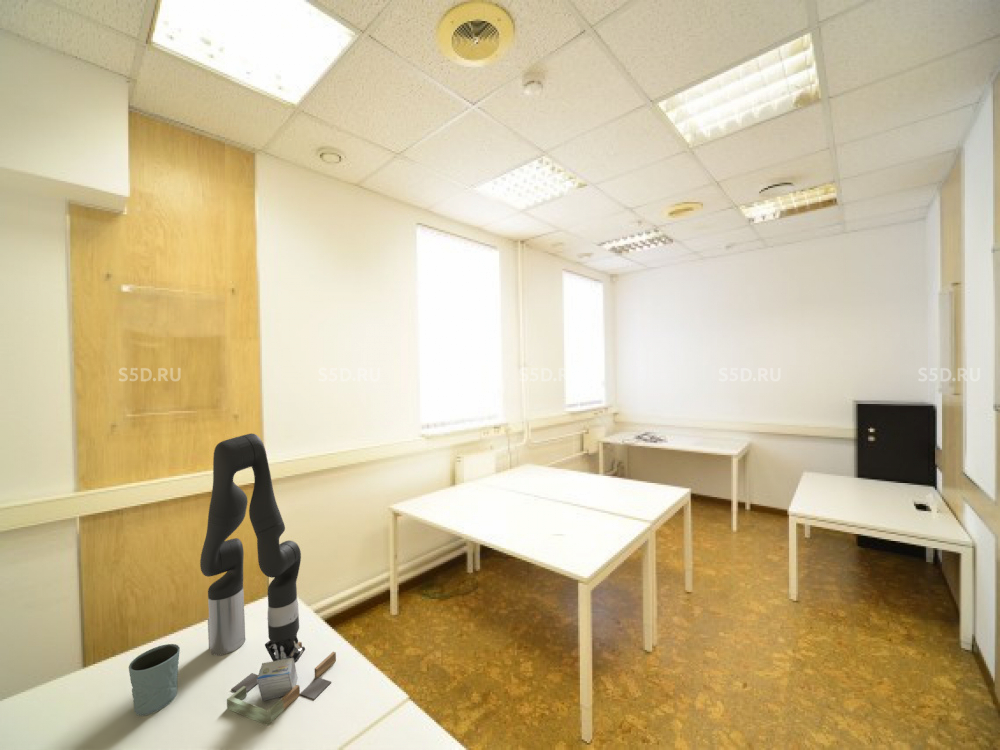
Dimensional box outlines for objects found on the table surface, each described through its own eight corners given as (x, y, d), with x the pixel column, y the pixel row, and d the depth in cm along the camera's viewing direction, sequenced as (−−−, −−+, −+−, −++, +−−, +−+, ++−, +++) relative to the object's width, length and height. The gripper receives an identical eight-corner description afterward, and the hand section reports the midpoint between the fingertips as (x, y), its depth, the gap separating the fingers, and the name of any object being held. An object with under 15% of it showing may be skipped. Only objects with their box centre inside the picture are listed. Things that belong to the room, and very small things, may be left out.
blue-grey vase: (121, 722, 98) (119, 675, 98) (145, 690, 108) (143, 647, 108) (169, 711, 101) (167, 665, 101) (188, 681, 111) (186, 639, 111)
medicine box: (298, 678, 109) (294, 656, 106) (294, 695, 105) (290, 673, 102) (266, 684, 107) (261, 662, 104) (261, 702, 103) (256, 679, 100)
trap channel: (214, 703, 103) (213, 694, 103) (287, 645, 124) (287, 638, 124) (282, 731, 94) (282, 721, 94) (349, 664, 115) (349, 656, 115)
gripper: (253, 620, 108) (256, 682, 108) (289, 630, 103) (292, 694, 104) (277, 604, 115) (280, 662, 115) (312, 613, 110) (314, 673, 111)
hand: (286, 677), depth 109 cm, fingers closed
